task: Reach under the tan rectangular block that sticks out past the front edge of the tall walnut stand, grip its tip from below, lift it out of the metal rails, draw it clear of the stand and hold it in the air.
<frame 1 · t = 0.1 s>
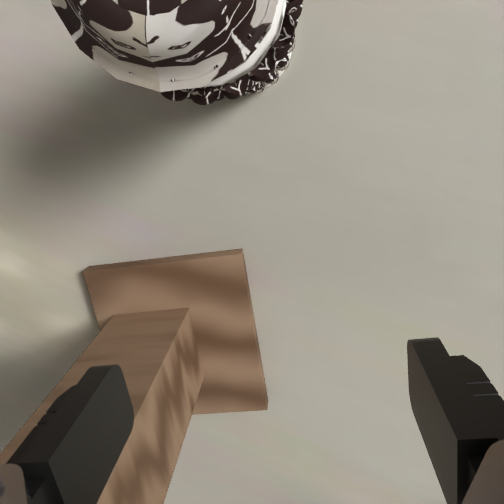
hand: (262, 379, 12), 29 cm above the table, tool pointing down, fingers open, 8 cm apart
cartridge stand: (182, 336, 46), on the table
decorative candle: (243, 41, 36), on the table
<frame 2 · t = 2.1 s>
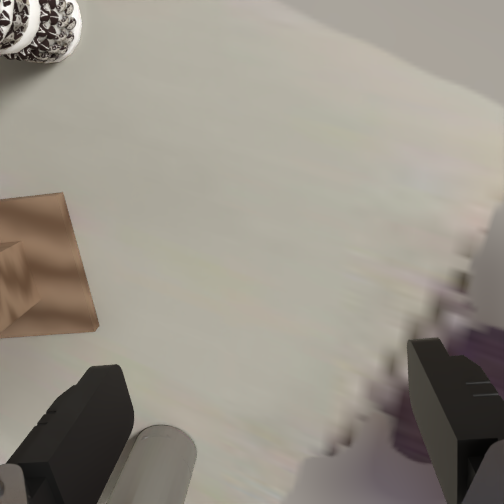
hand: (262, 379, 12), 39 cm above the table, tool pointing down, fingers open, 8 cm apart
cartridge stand: (23, 268, 55), on the table
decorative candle: (44, 20, 45), on the table
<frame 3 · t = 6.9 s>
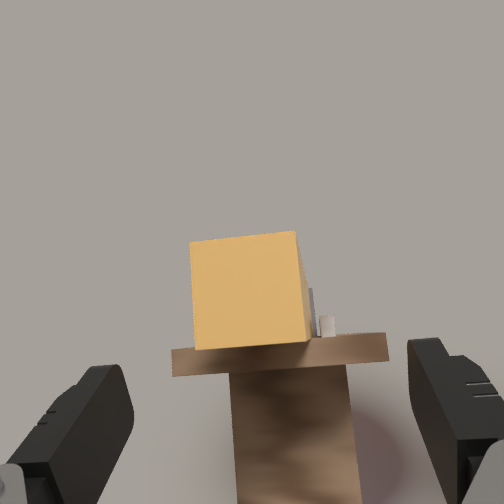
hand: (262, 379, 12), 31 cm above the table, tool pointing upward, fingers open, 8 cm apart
tan rectangular block: (277, 340, 26), point 32 cm above the table, touching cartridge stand
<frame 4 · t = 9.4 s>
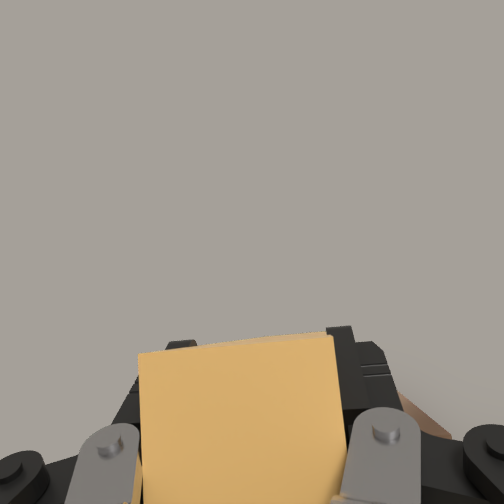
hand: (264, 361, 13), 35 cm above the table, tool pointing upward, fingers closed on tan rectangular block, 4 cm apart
tan rectangular block: (290, 433, 18), point 32 cm above the table, touching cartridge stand, gripper
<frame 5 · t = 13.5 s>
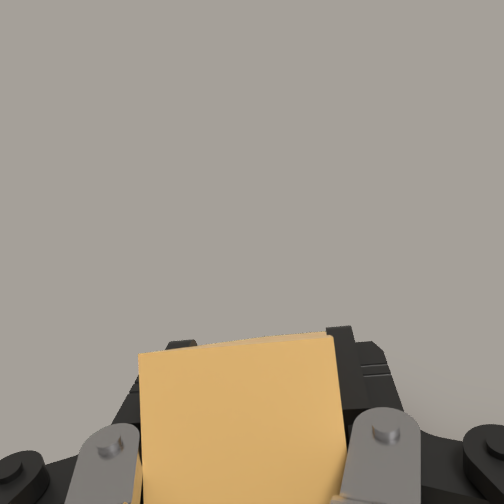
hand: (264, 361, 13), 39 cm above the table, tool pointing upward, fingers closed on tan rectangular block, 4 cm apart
tan rectangular block: (289, 433, 18), point 36 cm above the table, touching gripper
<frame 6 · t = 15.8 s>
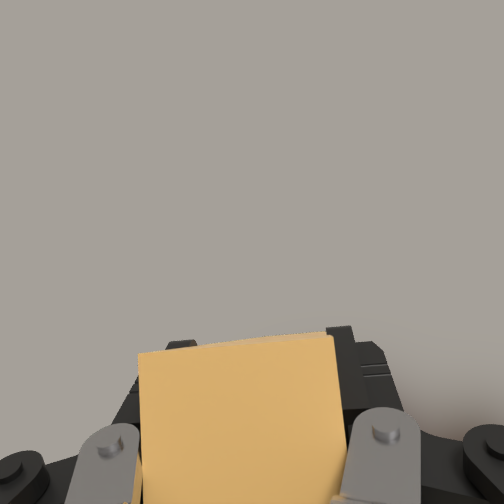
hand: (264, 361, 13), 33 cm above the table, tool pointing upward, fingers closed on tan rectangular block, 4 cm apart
tan rectangular block: (289, 433, 18), point 30 cm above the table, touching gripper
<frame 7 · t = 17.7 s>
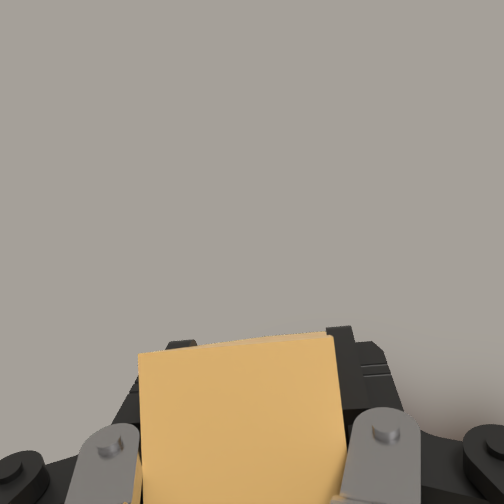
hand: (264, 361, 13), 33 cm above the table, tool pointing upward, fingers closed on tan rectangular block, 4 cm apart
tan rectangular block: (289, 433, 18), point 30 cm above the table, touching gripper
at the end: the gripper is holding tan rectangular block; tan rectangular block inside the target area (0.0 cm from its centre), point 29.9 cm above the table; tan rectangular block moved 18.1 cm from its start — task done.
